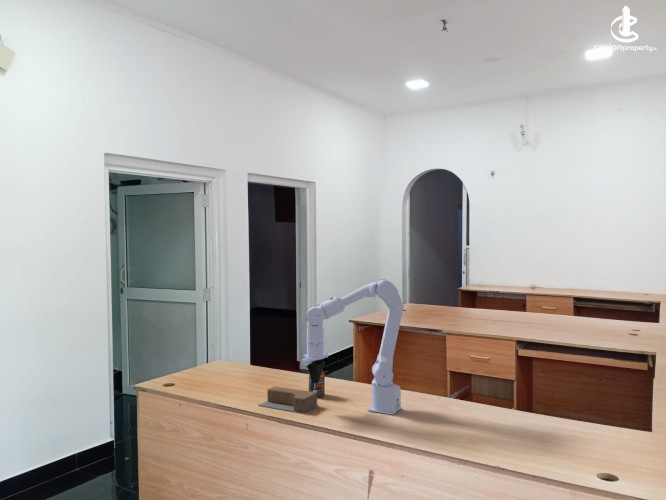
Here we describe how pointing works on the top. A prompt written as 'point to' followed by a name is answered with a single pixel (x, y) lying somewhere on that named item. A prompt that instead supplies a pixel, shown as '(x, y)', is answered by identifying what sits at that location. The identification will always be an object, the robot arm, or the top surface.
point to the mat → (281, 406)
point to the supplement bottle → (318, 385)
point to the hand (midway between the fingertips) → (315, 382)
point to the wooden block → (293, 398)
